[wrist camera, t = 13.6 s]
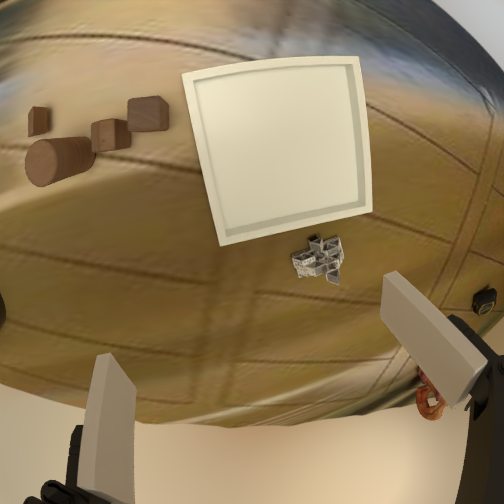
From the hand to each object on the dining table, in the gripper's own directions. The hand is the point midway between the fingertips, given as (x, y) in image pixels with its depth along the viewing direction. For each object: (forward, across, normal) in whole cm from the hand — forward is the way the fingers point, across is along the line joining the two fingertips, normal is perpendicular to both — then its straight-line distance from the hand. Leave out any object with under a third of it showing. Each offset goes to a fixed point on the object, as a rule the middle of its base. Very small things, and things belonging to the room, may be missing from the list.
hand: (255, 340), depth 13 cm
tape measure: (+22, +58, -35) cm, 71 cm away
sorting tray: (+24, +10, +4) cm, 27 cm away
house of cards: (+25, +13, -10) cm, 30 cm away
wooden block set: (+25, -11, +11) cm, 30 cm away
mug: (+23, +40, -56) cm, 73 cm away
